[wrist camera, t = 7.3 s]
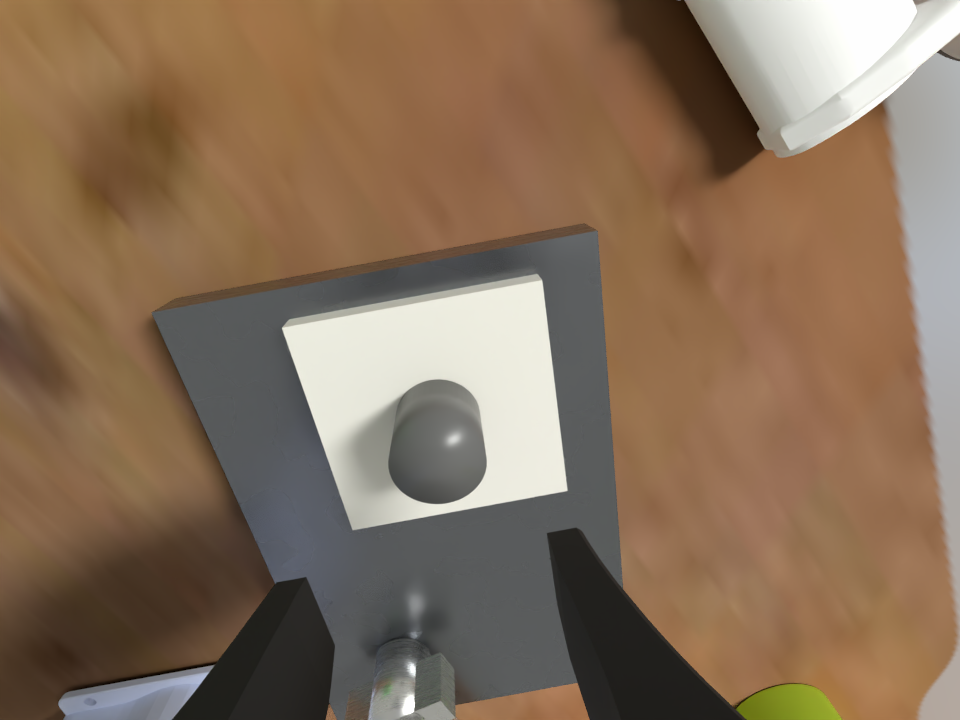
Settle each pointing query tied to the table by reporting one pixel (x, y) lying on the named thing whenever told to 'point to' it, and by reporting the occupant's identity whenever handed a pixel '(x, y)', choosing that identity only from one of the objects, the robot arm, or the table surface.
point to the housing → (423, 541)
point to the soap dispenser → (788, 704)
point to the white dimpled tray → (822, 58)
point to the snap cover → (434, 400)
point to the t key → (405, 685)
